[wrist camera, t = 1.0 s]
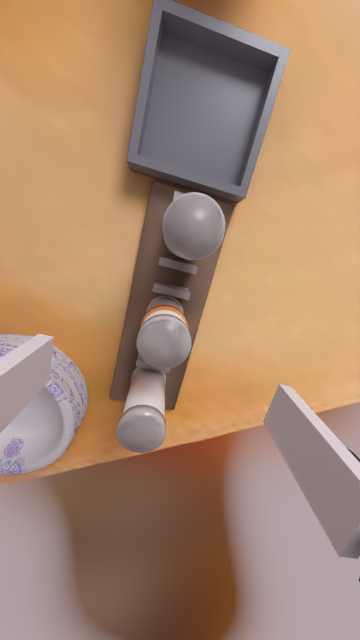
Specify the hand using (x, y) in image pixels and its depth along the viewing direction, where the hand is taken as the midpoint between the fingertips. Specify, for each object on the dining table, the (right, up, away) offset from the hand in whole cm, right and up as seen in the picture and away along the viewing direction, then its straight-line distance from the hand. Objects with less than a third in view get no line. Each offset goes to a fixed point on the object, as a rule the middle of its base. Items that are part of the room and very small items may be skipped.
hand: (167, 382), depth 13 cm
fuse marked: (-1, +4, +15) cm, 15 cm away
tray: (+3, +24, +10) cm, 26 cm away
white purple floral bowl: (-18, -4, +17) cm, 25 cm away
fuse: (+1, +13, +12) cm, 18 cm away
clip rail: (-1, +5, +15) cm, 16 cm away
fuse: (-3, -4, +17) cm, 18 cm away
